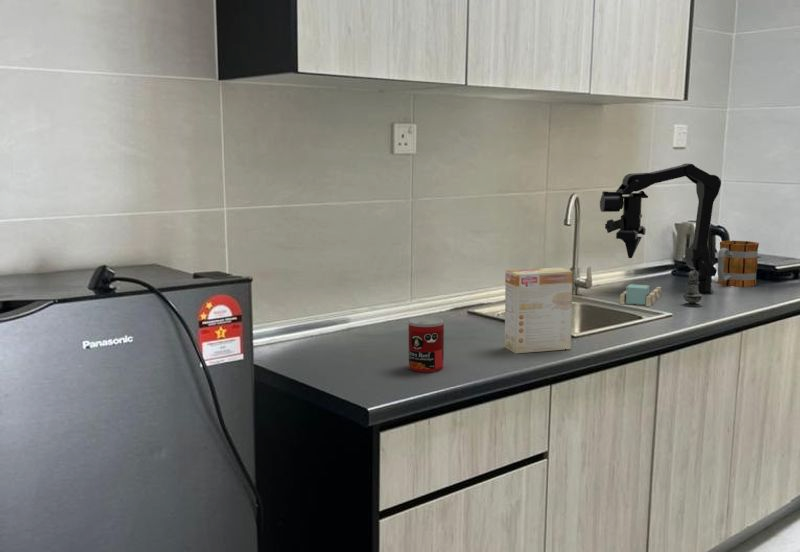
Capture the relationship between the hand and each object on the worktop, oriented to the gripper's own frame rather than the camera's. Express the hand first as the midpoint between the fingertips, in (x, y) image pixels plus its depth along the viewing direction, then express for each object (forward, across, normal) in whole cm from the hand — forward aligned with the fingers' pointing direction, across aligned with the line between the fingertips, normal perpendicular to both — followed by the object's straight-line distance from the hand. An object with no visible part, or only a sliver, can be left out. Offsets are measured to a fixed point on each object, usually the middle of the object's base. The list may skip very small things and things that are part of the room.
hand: (630, 258), depth 265 cm
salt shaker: (+12, +14, +22) cm, 29 cm away
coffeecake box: (+12, +86, -5) cm, 87 cm away
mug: (+12, -32, +30) cm, 46 cm away
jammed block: (+12, +17, +6) cm, 21 cm away
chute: (+12, +11, +6) cm, 17 cm away
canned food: (+12, +114, -22) cm, 117 cm away
